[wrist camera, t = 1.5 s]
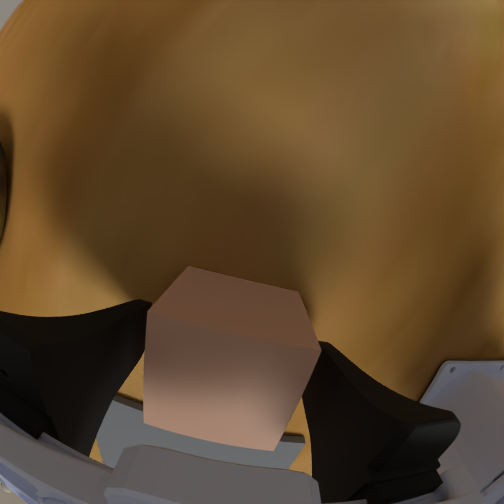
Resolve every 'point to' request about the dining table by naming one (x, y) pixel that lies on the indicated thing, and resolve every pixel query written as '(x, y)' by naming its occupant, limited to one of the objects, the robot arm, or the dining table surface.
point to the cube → (226, 359)
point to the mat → (181, 440)
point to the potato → (2, 189)
